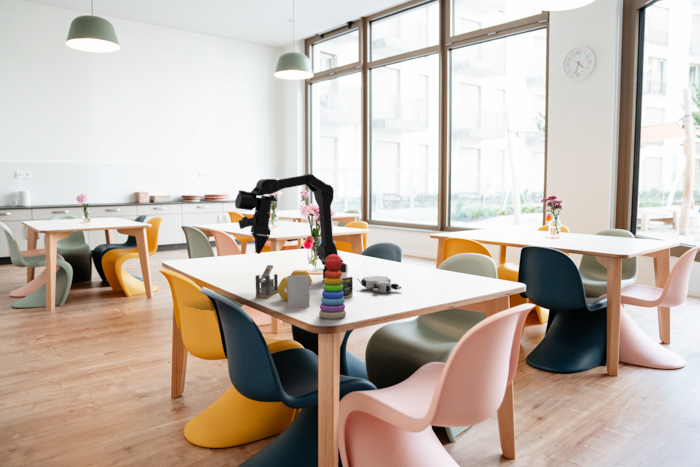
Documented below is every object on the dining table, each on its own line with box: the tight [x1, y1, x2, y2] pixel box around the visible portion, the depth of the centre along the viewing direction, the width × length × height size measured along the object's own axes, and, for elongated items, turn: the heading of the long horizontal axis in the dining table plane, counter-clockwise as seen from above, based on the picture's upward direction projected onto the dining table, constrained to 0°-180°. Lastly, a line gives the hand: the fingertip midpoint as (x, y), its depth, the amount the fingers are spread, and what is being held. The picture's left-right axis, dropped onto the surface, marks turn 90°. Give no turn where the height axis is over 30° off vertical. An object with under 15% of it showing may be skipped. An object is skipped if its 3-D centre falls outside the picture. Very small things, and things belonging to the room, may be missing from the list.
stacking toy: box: [318, 254, 347, 320], centre depth 154 cm, size 8×8×19 cm
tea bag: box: [287, 274, 311, 309], centre depth 168 cm, size 4×7×10 cm, turn 100°
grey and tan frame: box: [255, 273, 279, 299], centre depth 185 cm, size 11×5×8 cm, turn 170°
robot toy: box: [357, 275, 402, 294], centre depth 193 cm, size 12×4×15 cm
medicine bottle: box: [339, 261, 354, 298], centre depth 184 cm, size 7×7×12 cm
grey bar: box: [259, 264, 274, 284], centre depth 185 cm, size 10×2×1 cm, turn 170°
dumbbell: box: [277, 269, 313, 302], centre depth 184 cm, size 19×9×8 cm, turn 172°
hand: (257, 252), depth 196 cm, fingers open, 9 cm apart
